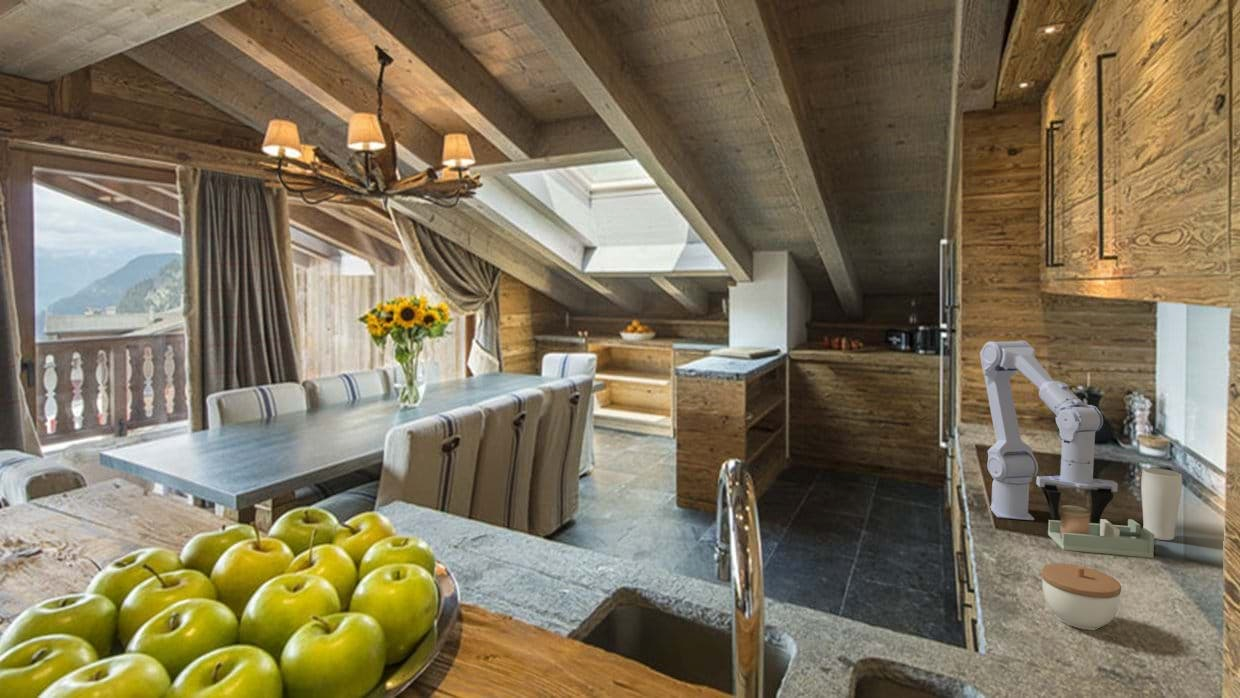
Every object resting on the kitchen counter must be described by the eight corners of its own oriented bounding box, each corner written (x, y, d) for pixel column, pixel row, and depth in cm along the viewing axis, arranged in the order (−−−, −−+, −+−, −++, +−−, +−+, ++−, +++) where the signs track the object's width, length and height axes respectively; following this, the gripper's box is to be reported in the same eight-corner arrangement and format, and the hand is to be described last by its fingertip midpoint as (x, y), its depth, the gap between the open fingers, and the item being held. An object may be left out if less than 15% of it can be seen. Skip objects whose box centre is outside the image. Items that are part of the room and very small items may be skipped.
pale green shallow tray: (1047, 534, 139) (1048, 513, 138) (1131, 541, 134) (1132, 519, 133) (1063, 549, 130) (1064, 527, 130) (1153, 557, 125) (1154, 534, 125)
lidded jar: (1042, 598, 109) (1044, 549, 109) (1118, 617, 103) (1121, 564, 102) (1037, 624, 101) (1039, 570, 100) (1119, 646, 94) (1122, 588, 94)
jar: (1055, 533, 136) (1056, 504, 136) (1082, 535, 135) (1084, 506, 134) (1065, 542, 131) (1066, 512, 131) (1094, 545, 130) (1095, 514, 129)
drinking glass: (1180, 545, 131) (1184, 478, 130) (1140, 538, 135) (1143, 473, 134) (1176, 535, 137) (1180, 471, 135) (1137, 528, 141) (1140, 466, 139)
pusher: (1099, 534, 134) (1100, 518, 134) (1142, 538, 132) (1143, 522, 132) (1113, 546, 128) (1114, 529, 128) (1158, 550, 126) (1159, 533, 126)
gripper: (1045, 462, 130) (1043, 523, 131) (1125, 467, 126) (1122, 529, 127) (1034, 454, 137) (1031, 512, 138) (1109, 458, 132) (1106, 517, 134)
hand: (1074, 519), depth 133 cm, fingers open, 7 cm apart
